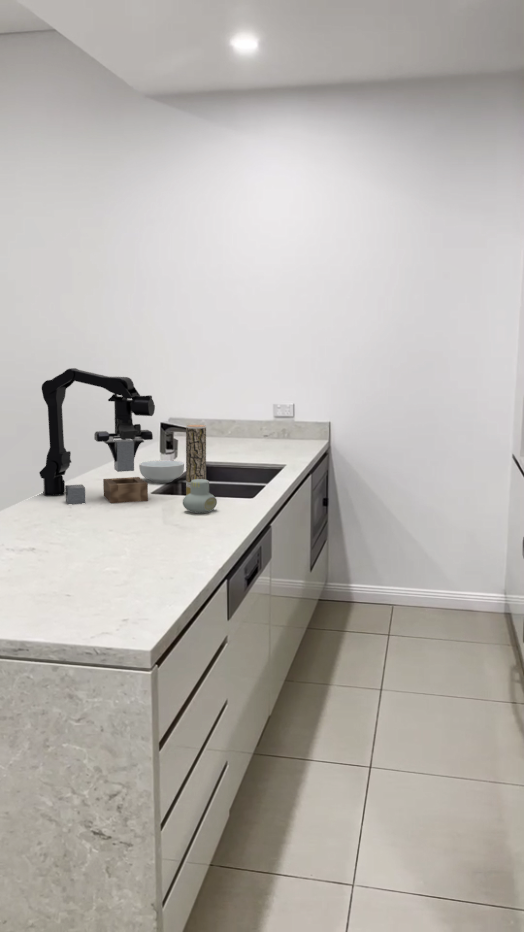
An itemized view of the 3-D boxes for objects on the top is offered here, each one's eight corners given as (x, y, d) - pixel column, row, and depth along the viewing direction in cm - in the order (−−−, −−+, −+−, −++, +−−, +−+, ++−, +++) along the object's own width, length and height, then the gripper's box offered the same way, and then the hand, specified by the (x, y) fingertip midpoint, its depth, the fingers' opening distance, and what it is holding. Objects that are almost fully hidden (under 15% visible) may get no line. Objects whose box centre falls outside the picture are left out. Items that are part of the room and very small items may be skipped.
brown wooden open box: (110, 503, 268) (110, 485, 266) (103, 495, 279) (103, 478, 278) (147, 500, 272) (147, 483, 271) (139, 493, 284) (139, 476, 283)
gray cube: (68, 505, 265) (67, 488, 264) (65, 501, 270) (65, 485, 269) (85, 503, 267) (85, 487, 266) (82, 500, 272) (82, 484, 271)
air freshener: (199, 506, 264) (199, 476, 263) (220, 509, 260) (220, 479, 258) (179, 513, 255) (179, 481, 253) (200, 516, 251) (200, 484, 249)
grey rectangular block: (117, 471, 270) (117, 442, 268) (114, 469, 275) (113, 439, 273) (134, 470, 272) (133, 441, 270) (130, 468, 277) (130, 439, 275)
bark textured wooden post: (202, 500, 274) (203, 427, 270) (183, 499, 275) (183, 426, 271) (208, 496, 280) (208, 425, 276) (189, 495, 282) (189, 424, 277)
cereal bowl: (188, 477, 315) (188, 460, 314) (179, 486, 299) (179, 467, 297) (145, 476, 317) (145, 458, 315) (134, 484, 300) (134, 465, 299)
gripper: (99, 418, 259) (100, 466, 262) (156, 416, 266) (156, 463, 269) (93, 414, 270) (94, 460, 272) (148, 413, 276) (149, 458, 279)
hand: (124, 461), depth 273 cm, fingers closed on grey rectangular block, 6 cm apart
